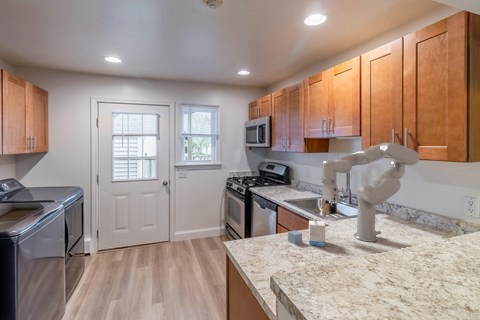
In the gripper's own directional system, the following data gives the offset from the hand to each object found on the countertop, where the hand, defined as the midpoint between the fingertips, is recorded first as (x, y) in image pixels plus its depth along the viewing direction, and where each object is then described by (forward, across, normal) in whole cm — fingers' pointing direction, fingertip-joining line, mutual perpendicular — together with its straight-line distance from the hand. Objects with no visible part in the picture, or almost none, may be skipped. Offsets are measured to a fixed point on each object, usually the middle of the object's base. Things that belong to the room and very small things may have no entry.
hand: (330, 211), depth 148 cm
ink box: (+16, -5, +12) cm, 21 cm away
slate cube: (+15, -1, +24) cm, 28 cm away
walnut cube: (+1, 0, 0) cm, 1 cm away
